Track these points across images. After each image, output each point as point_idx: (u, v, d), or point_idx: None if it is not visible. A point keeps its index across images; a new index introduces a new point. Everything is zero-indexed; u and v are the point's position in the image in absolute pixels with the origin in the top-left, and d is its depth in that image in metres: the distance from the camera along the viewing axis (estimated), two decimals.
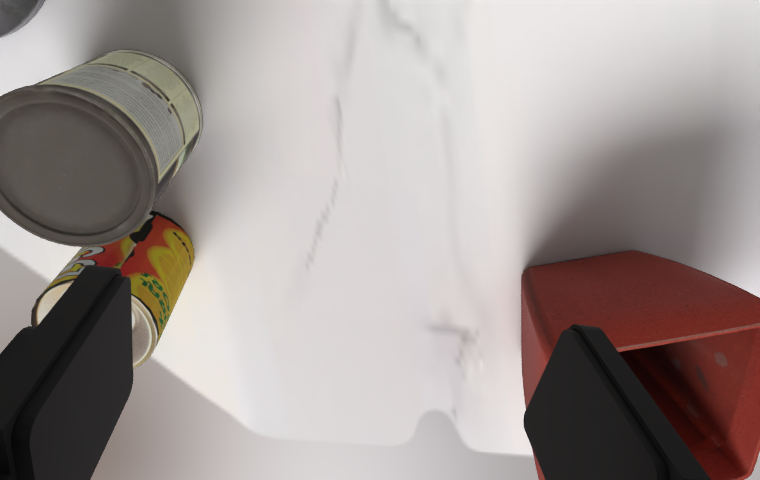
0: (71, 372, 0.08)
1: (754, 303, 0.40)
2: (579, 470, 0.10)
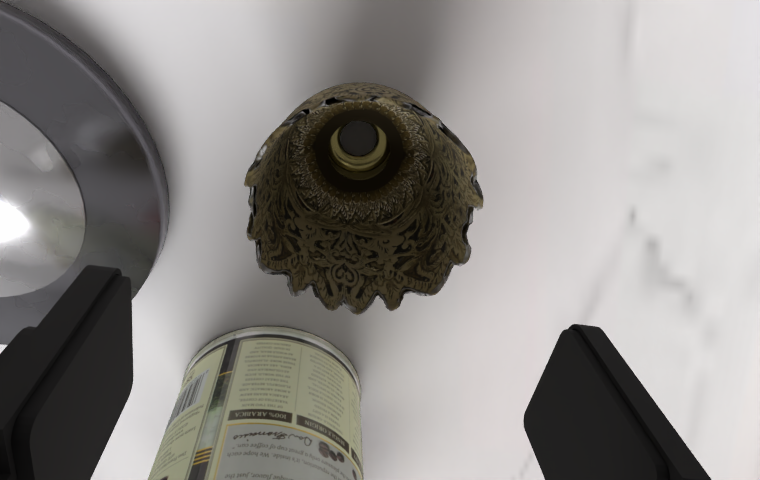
0: (71, 372, 0.08)
1: None
2: (579, 470, 0.10)
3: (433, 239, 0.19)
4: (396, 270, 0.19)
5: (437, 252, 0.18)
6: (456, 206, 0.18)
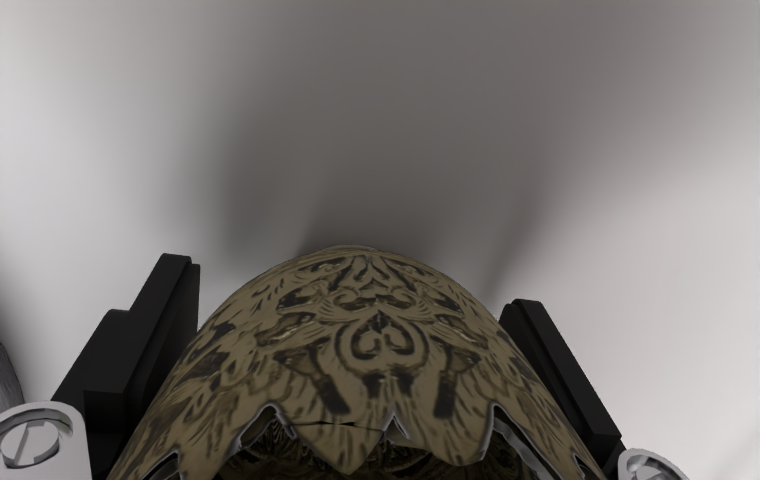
0: (164, 347, 0.08)
1: None
2: None
3: None
4: None
5: None
6: None
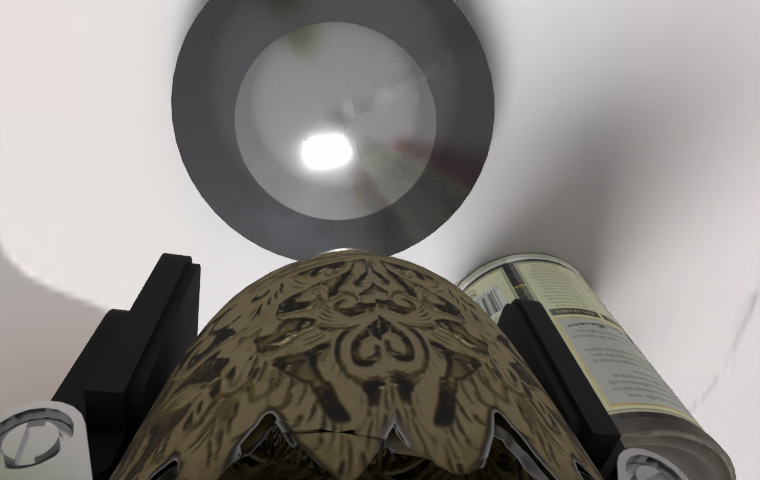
0: (165, 347, 0.08)
1: None
2: None
3: None
4: None
5: None
6: None
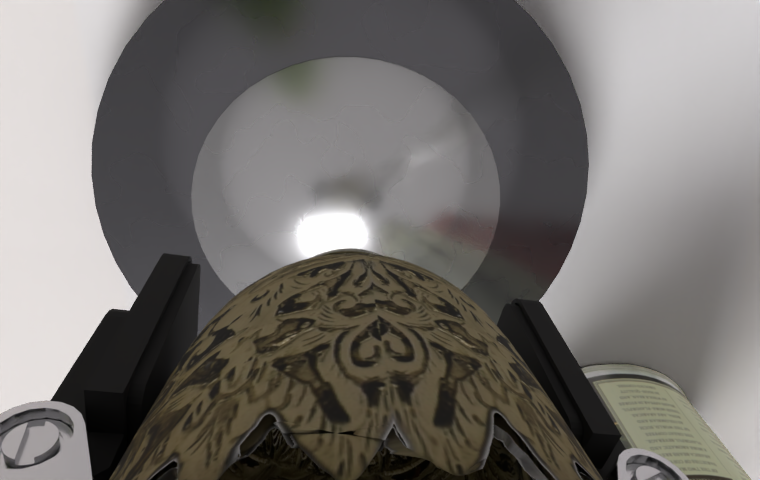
0: (165, 347, 0.08)
1: None
2: None
3: None
4: None
5: None
6: None
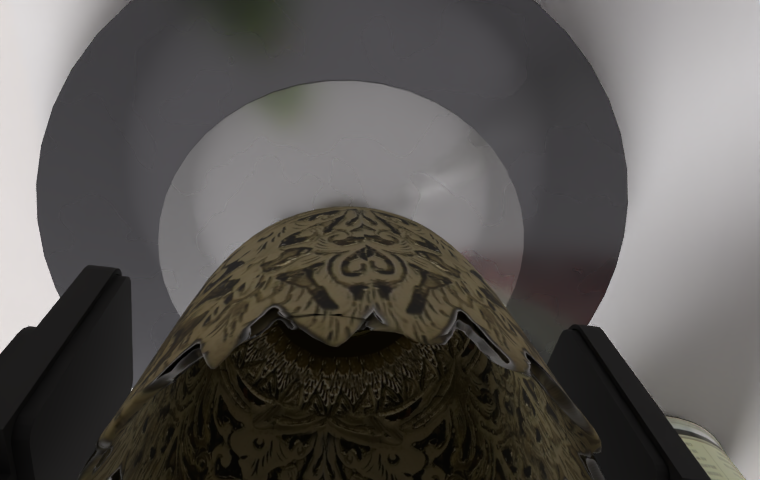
0: (71, 372, 0.08)
1: None
2: None
3: None
4: None
5: None
6: (530, 448, 0.09)
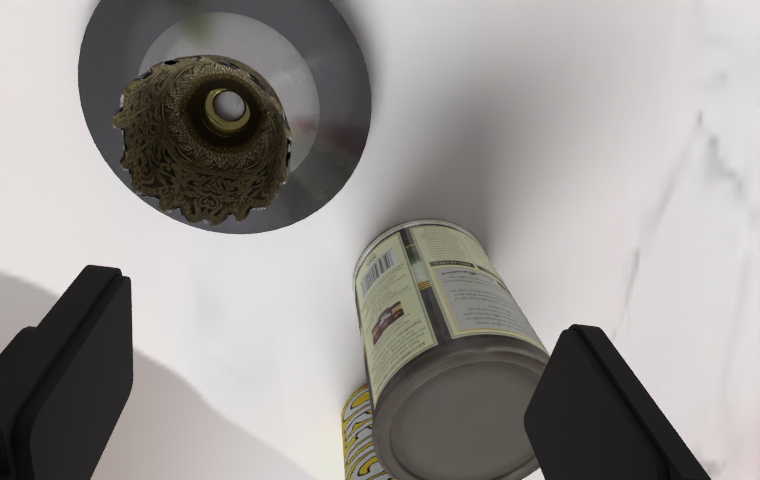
0: (71, 372, 0.08)
1: None
2: (579, 470, 0.10)
3: (274, 171, 0.25)
4: (248, 196, 0.25)
5: (274, 179, 0.25)
6: (285, 143, 0.24)
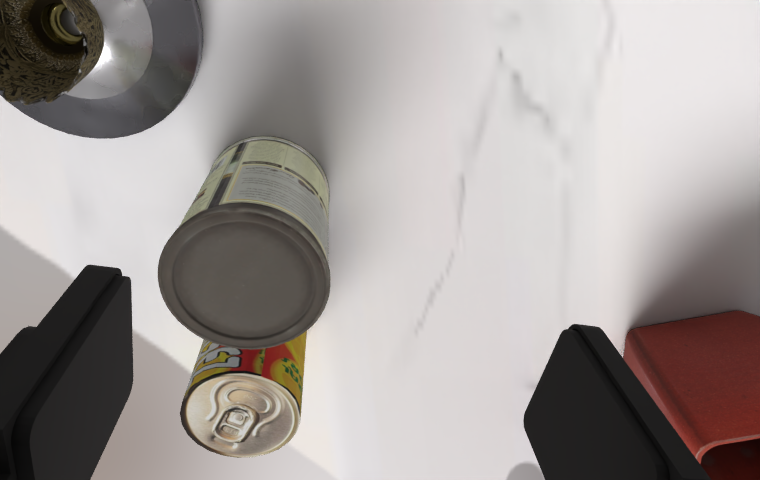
0: (71, 372, 0.08)
1: None
2: (579, 470, 0.10)
3: (86, 67, 0.31)
4: (64, 87, 0.31)
5: None
6: None
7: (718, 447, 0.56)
